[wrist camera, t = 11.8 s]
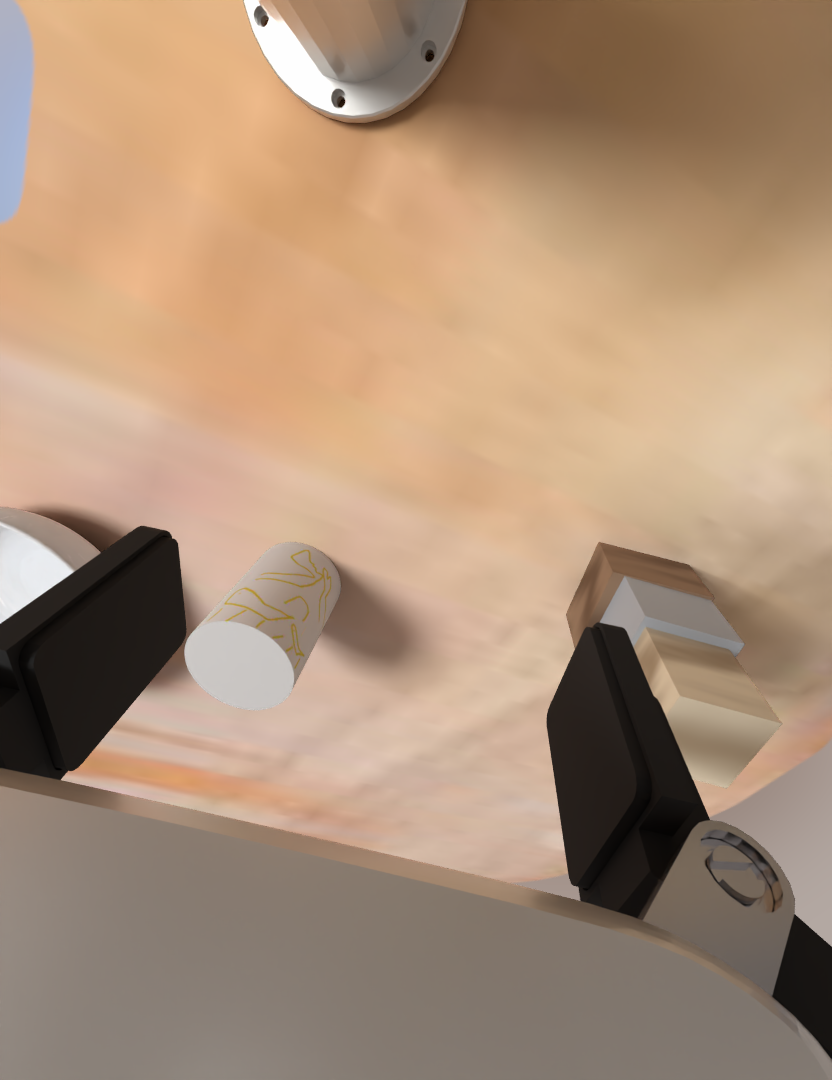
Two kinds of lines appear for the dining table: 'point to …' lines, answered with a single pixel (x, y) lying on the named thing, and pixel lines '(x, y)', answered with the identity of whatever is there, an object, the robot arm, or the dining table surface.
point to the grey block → (669, 614)
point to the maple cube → (706, 704)
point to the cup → (264, 628)
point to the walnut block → (608, 575)
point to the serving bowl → (35, 557)
